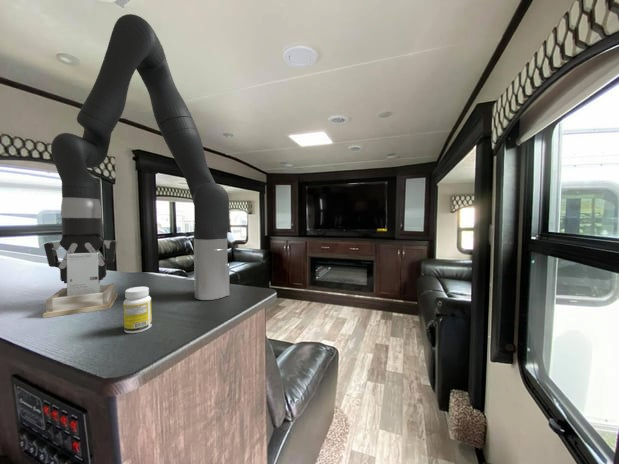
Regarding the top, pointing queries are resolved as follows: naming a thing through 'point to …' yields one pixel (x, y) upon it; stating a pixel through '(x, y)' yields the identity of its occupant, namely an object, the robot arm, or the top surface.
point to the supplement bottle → (137, 310)
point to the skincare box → (82, 274)
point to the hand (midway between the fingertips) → (84, 280)
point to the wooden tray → (80, 301)
